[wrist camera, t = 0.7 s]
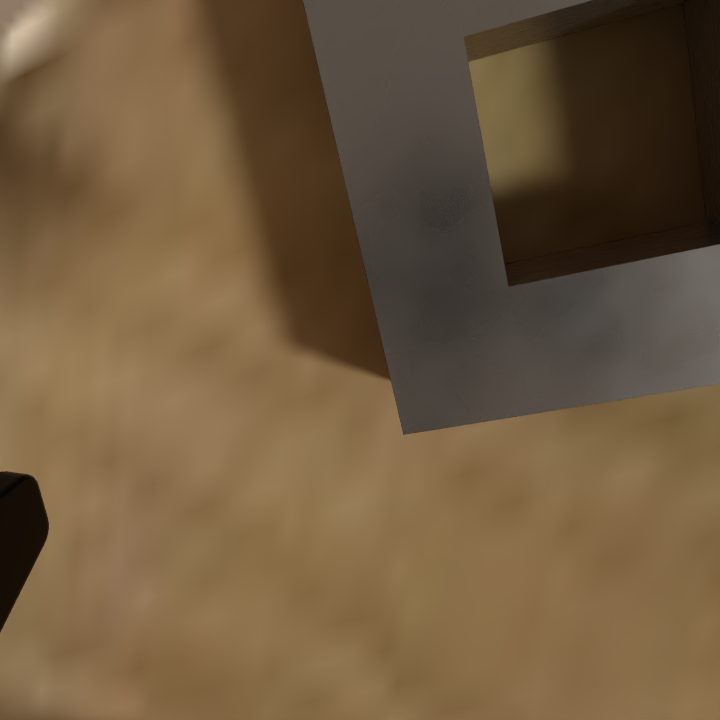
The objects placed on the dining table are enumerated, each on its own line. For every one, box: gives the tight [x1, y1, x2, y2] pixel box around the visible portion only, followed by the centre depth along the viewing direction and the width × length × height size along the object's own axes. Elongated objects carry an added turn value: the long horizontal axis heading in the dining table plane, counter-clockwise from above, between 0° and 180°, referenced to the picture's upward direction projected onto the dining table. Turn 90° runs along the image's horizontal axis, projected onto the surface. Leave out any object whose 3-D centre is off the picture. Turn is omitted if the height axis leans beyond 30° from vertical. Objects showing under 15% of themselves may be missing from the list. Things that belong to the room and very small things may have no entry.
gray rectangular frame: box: [303, 0, 720, 435], centre depth 17 cm, size 13×13×4 cm
